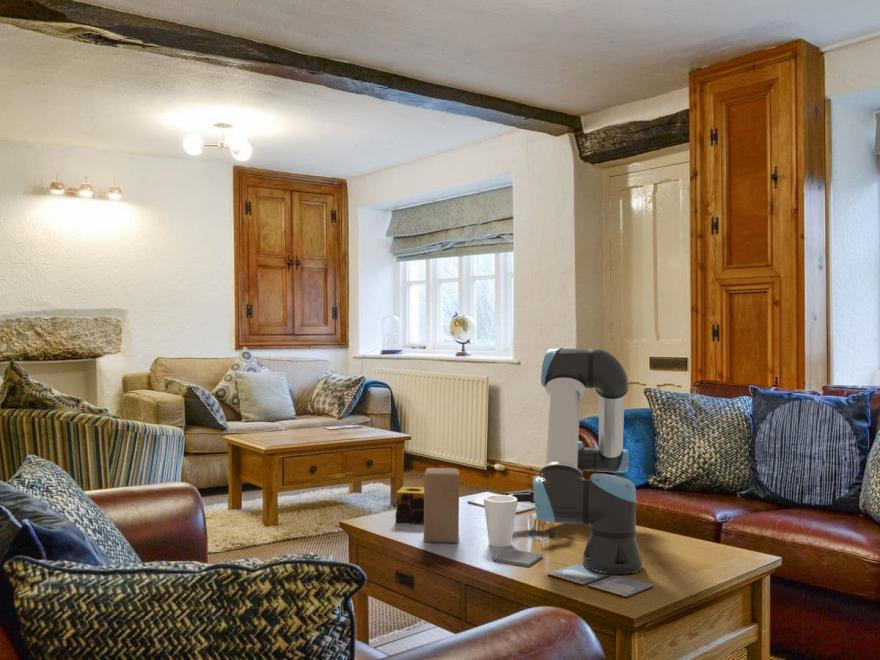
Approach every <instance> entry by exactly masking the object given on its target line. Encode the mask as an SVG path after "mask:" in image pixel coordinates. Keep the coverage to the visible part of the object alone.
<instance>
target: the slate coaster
mask: <svg viewBox="0 0 880 660" xmlns="http://www.w3.org/2000/svg"><path fill="white" fill-rule="evenodd" d="M543 555H544V554H542V553H538V552H530V551H525V550H518V549H511V548H508V549H506V550H504V551H502V552H500V553H499V554H497V555H496V556H494V557H493V562H497V563H503V564H509V565H514V566H521V567H526V568H529V567H531V566H532V565H533V564H535V563H536V562H539V560H541V559H542V558H543Z"/></svg>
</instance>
